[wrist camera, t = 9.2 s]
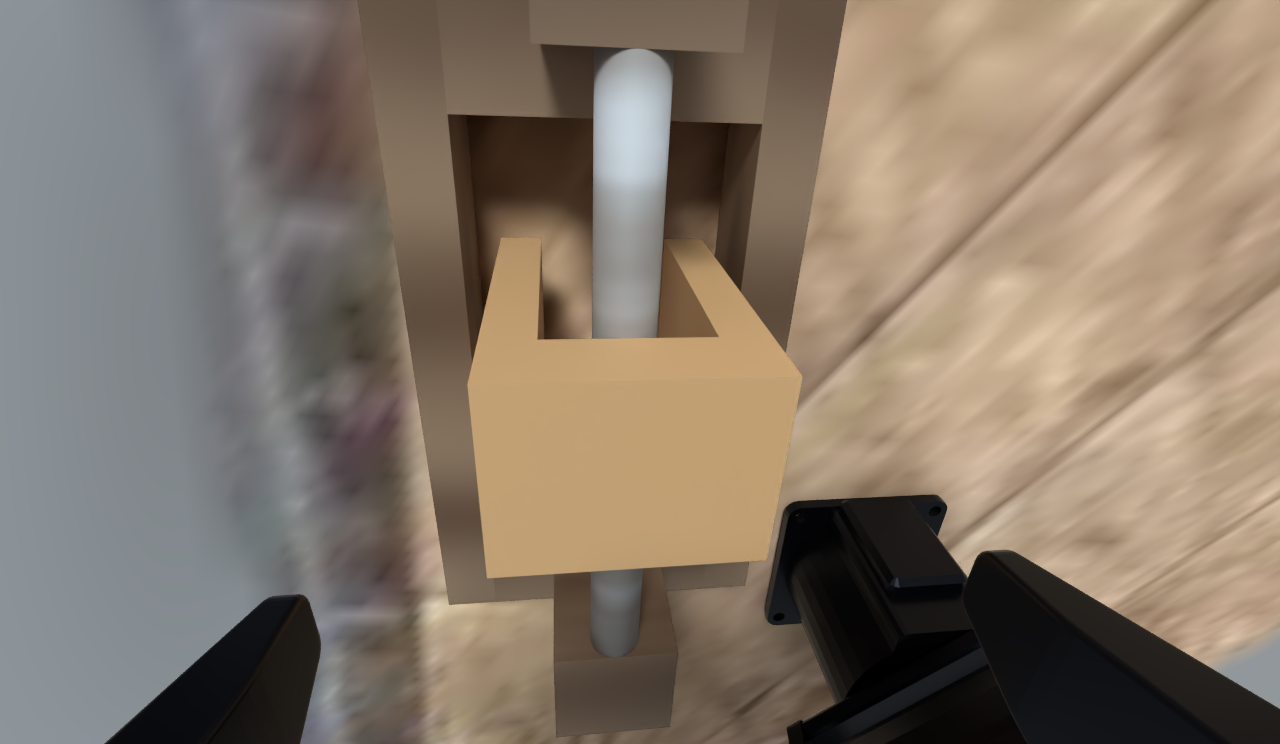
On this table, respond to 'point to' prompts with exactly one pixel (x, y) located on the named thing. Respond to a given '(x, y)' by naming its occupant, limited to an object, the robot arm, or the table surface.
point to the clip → (628, 427)
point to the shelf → (622, 245)
